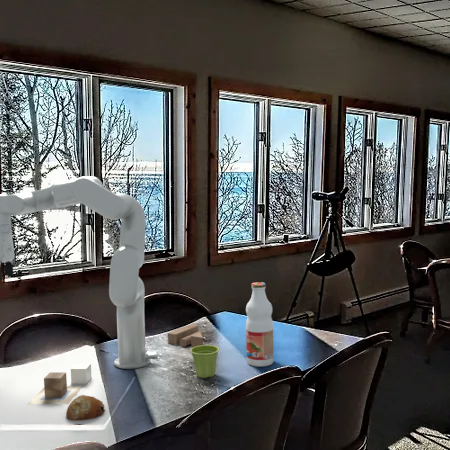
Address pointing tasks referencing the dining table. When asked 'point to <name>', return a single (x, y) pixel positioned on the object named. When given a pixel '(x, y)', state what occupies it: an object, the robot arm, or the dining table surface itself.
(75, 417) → the bread roll
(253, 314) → the fruit juice
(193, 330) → the wooden block set
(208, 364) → the plant pot
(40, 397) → the birch board
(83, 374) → the cream block
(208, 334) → the dining table surface
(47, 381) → the walnut block
